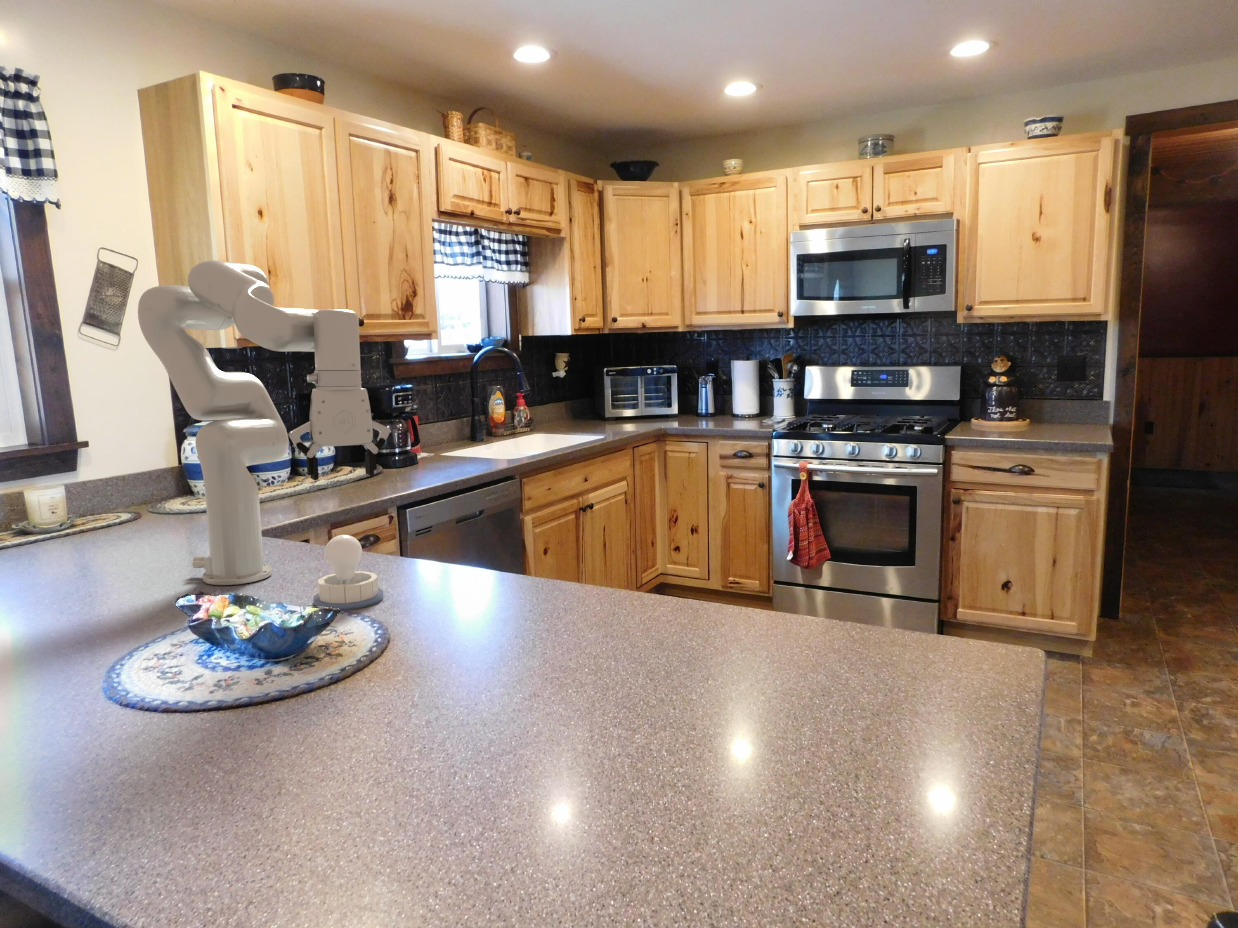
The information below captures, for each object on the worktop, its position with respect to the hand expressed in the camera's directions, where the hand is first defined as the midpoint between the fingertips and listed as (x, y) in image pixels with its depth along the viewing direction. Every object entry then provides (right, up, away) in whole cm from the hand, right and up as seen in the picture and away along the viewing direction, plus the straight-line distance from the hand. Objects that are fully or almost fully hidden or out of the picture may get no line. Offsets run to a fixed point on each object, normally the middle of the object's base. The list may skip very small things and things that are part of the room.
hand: (342, 476), depth 145 cm
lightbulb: (0, -22, +2) cm, 22 cm away
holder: (+1, -22, +2) cm, 22 cm away
